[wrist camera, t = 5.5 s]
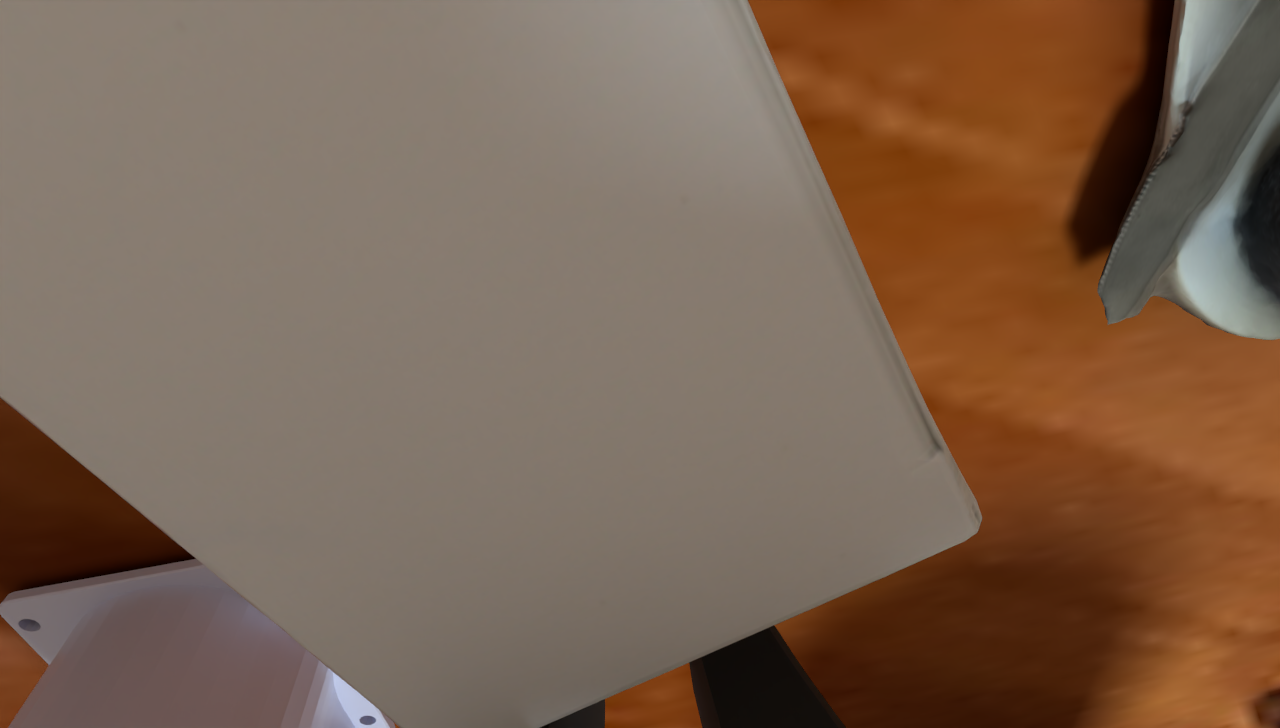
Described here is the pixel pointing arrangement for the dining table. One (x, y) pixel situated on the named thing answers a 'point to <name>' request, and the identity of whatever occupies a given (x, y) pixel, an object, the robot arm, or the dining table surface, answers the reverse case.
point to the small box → (460, 330)
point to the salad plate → (1209, 177)
